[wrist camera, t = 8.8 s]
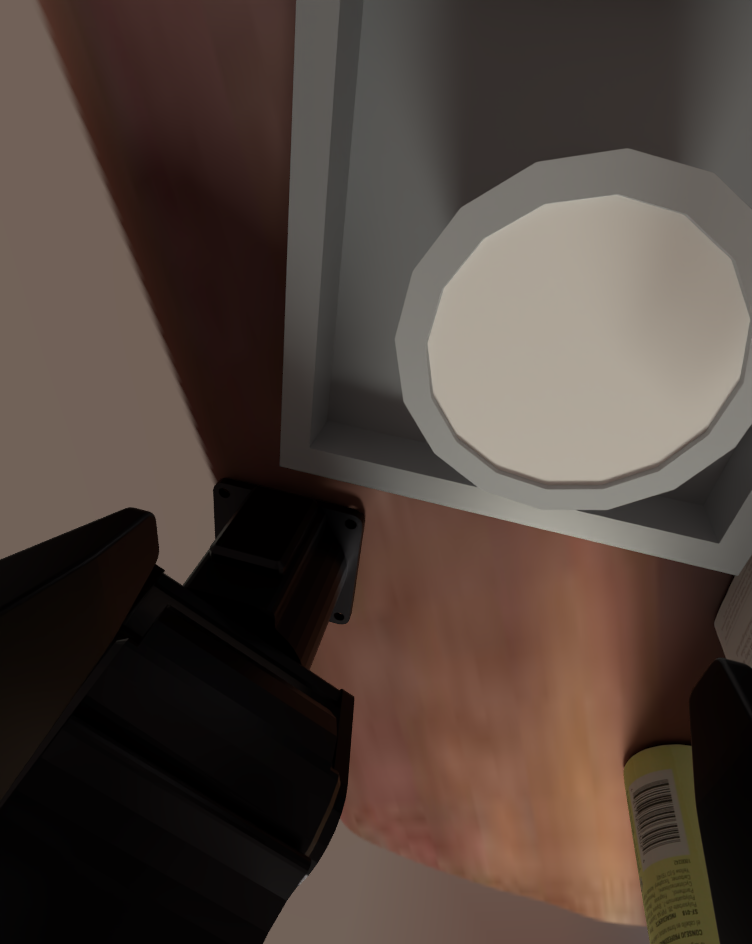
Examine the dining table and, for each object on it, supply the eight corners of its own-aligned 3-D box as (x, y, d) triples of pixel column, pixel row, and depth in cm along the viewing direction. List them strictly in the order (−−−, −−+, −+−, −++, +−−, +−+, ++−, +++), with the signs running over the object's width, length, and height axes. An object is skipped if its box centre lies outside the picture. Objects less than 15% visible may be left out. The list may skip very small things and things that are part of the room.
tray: (713, 518, 20) (737, 576, 18) (307, 425, 22) (279, 466, 20) (1038, -43, 12) (1168, -80, 10) (343, -118, 14) (302, -165, 11)
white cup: (410, 187, 16) (341, 234, 10) (685, 82, 14) (794, 68, 8) (475, 405, 19) (449, 536, 13) (710, 352, 17) (802, 485, 11)
